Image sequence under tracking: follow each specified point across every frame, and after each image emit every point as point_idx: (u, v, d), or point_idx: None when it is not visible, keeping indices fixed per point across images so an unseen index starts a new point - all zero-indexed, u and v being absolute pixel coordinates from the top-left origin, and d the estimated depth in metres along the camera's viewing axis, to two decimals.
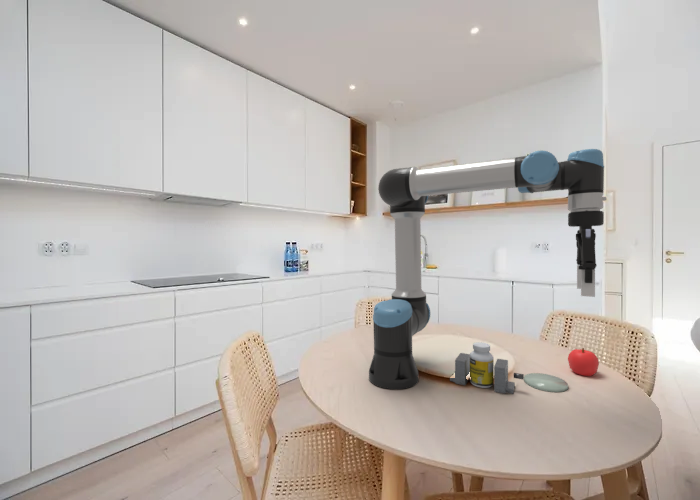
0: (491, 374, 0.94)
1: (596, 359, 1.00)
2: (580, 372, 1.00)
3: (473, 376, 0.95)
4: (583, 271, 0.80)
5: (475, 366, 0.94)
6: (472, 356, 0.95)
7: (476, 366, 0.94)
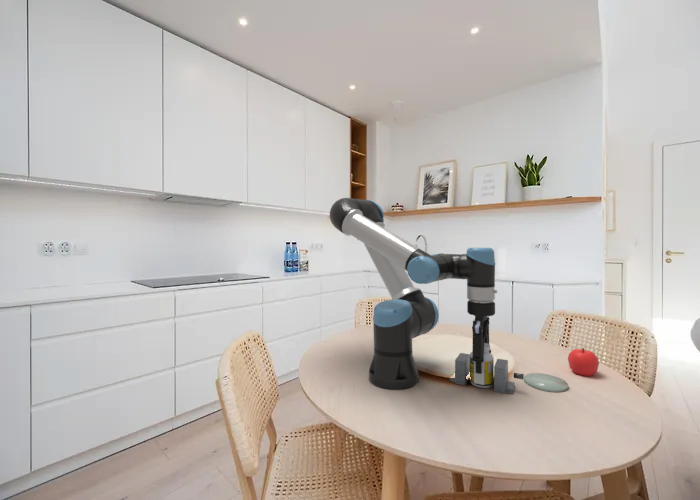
0: (491, 374, 0.94)
1: (596, 359, 1.00)
2: (580, 372, 1.00)
3: (473, 376, 0.95)
4: (475, 362, 0.93)
5: None
6: None
7: None
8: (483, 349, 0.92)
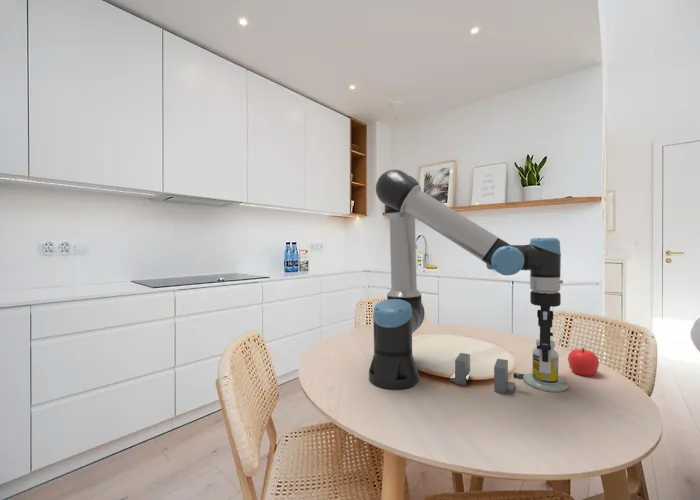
0: (557, 371, 0.93)
1: (596, 359, 1.00)
2: (580, 372, 1.00)
3: (537, 373, 0.94)
4: (541, 350, 0.90)
5: None
6: (536, 353, 0.94)
7: None
8: None
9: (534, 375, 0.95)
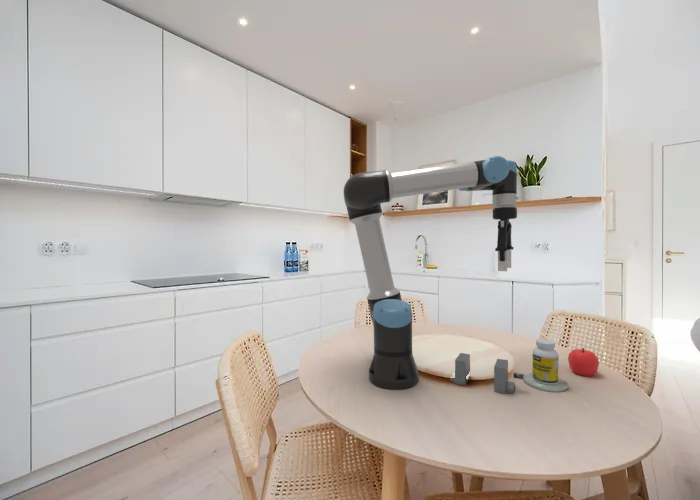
0: (557, 371, 0.93)
1: (596, 359, 1.00)
2: (580, 372, 1.00)
3: (537, 373, 0.94)
4: (499, 252, 1.07)
5: (540, 362, 0.94)
6: (536, 353, 0.94)
7: (541, 362, 0.93)
8: (506, 241, 1.07)
9: (534, 375, 0.95)
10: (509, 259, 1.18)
